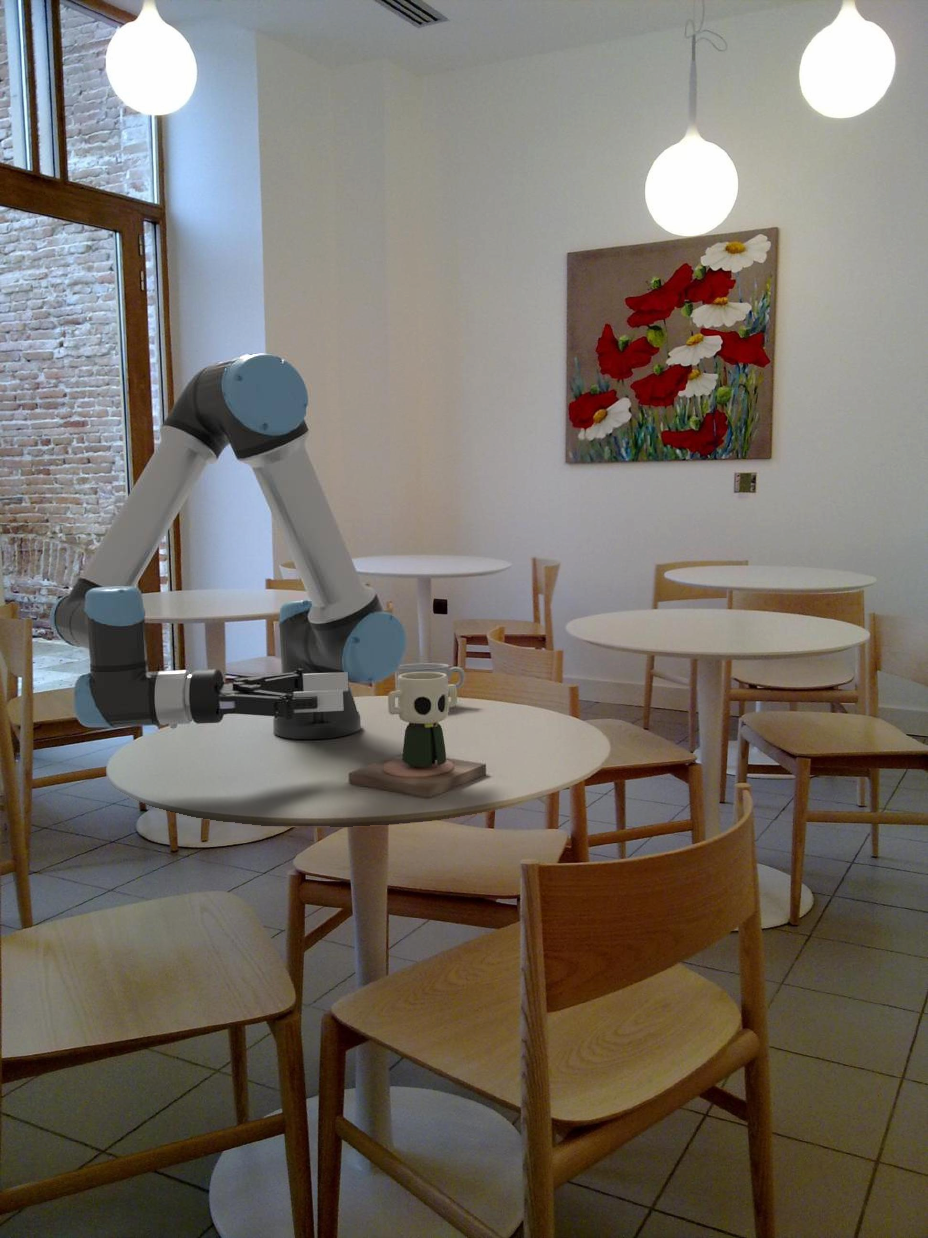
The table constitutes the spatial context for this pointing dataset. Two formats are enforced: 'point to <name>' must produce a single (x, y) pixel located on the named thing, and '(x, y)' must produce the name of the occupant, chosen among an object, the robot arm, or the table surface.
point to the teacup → (430, 668)
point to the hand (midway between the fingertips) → (345, 690)
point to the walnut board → (417, 776)
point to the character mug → (423, 715)
